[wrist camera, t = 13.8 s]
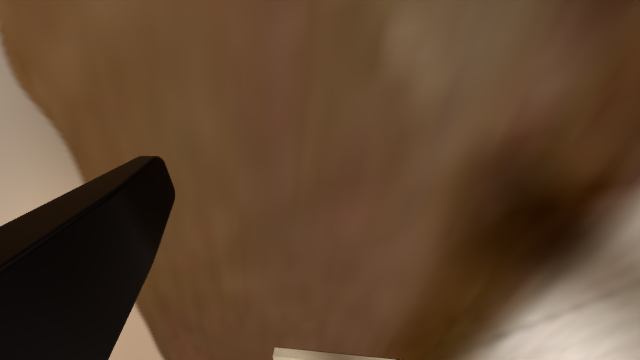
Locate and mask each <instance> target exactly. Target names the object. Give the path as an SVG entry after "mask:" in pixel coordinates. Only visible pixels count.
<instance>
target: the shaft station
mask: <svg viewBox="0 0 640 360" xmlns="http://www.w3.org/2000/svg"><path fill="white" fill-rule="evenodd" d="M273 359H274V360H394V359H385V358H375V357H365V356H355V355H345V354H336V353H326V352H316V351H306V350H296V349H287V348H277V347H275V350H274V354H273Z"/></svg>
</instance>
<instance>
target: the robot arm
mask: <svg viewBox="0 0 640 360" xmlns="http://www.w3.org/2000/svg"><path fill="white" fill-rule="evenodd" d="M174 200H175V190H174V186H173V184H172V181H171V178H170V175H169V173H168V170H167V167H166V165H165V162H164V161H163V159H162V158H160V157H158V156H139V157H137V158H135V159H133V160H131V161H129V162H127V163H125V164H123V165H121V166H119V167H117V168H115V169H113V170H111V171H109V172H107V173H105V174H103V175H101V176H99V177H97V178H95V179H93V180H91V181H89V182H87V183H85V184H83V185H81V186H80V187H78V188H75V189H73V190H72V191H70V192H68V193H66V194H64V195H62V196H60V197H58V198H56V199H54V200H52V201H50V202H48V203H46V204H44V205H42V206H40V207H38V208H36V209H34V210H32V211H30V212H28V213H26V214H24V215H22V216H20V217H18V218H16V219H14V220H12V221H10V222H8V223H6V224H4V225H3V226H0V360H108V359H109V357H110V355H111V352H112V350H113V348H114V346H115V344H116V342H117V340H118V338H119V335H120V333H121V331H122V329H123V327H124V325H125V323H126V321H127V318H128V316H129V314H130V312H131V310H132V308H133V306H134V303H135V301H136V299H137V297H138V295H139V293H140V291H141V288H142V286H143V284H144V282H145V280H146V278H147V276H148V273H149V271H150V269H151V266H152V264H153V261H154V259H155V256H156V254H157V251H158V248H159V245H160V242H161V239H162V236H163V233H164V230H165V227H166V224H167V221H168V218H169V215H170V212H171V209H172V206H173V203H174Z"/></svg>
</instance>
